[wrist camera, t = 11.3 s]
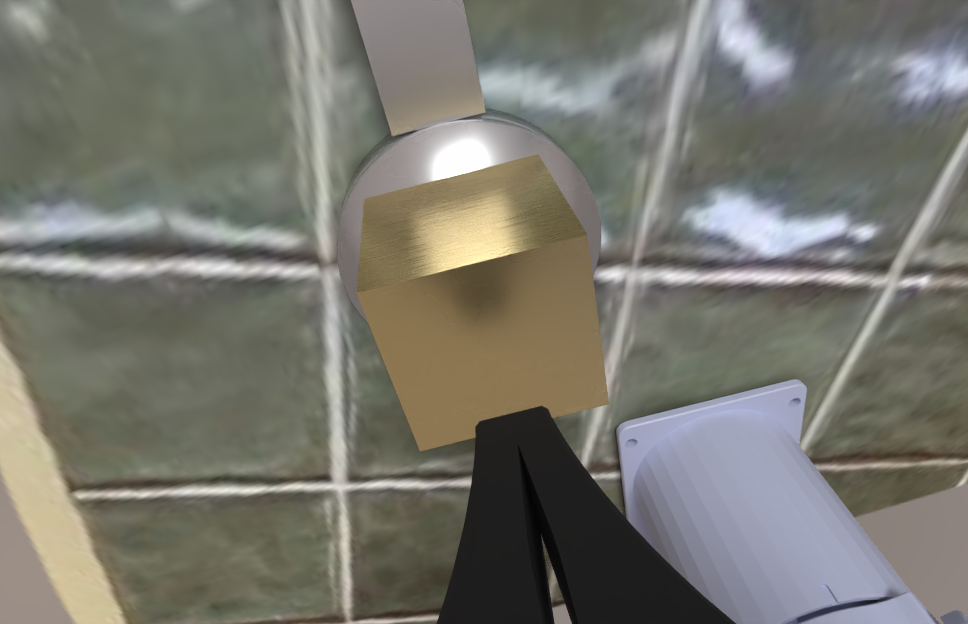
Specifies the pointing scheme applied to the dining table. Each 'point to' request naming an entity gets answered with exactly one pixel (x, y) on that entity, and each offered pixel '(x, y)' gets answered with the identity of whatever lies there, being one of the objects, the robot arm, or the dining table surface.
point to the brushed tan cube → (481, 299)
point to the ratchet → (439, 120)
